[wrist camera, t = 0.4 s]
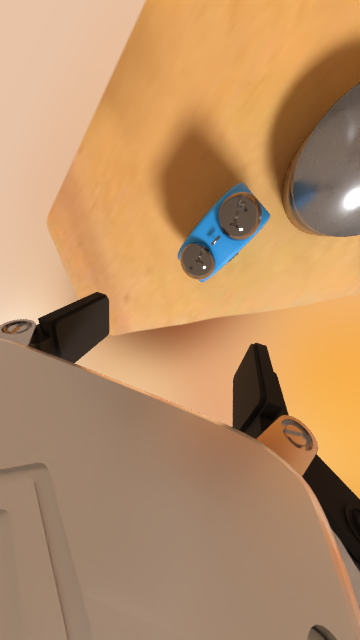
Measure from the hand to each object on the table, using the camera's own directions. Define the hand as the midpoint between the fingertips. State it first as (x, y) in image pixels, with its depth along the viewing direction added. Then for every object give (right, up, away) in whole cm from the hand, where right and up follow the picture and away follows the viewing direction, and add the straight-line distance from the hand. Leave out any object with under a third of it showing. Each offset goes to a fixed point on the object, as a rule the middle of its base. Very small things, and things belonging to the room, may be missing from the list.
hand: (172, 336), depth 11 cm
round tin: (+24, +22, +14) cm, 35 cm away
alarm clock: (+9, +17, +21) cm, 28 cm away
